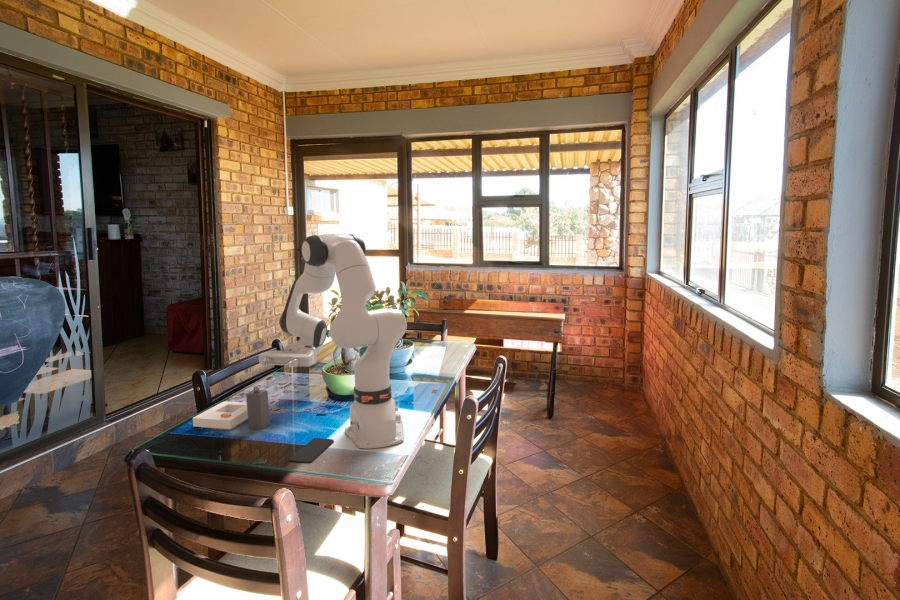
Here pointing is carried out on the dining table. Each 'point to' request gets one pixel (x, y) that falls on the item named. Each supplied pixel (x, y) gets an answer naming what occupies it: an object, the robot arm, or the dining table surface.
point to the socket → (222, 416)
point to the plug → (258, 409)
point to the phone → (311, 450)
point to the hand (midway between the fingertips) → (275, 364)
